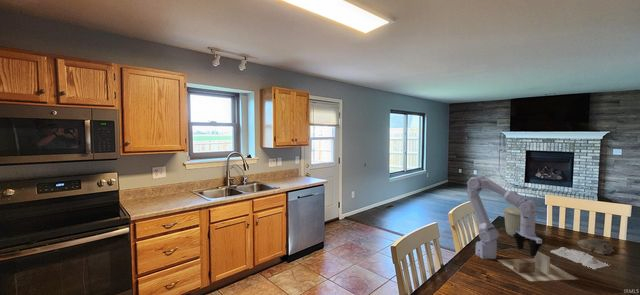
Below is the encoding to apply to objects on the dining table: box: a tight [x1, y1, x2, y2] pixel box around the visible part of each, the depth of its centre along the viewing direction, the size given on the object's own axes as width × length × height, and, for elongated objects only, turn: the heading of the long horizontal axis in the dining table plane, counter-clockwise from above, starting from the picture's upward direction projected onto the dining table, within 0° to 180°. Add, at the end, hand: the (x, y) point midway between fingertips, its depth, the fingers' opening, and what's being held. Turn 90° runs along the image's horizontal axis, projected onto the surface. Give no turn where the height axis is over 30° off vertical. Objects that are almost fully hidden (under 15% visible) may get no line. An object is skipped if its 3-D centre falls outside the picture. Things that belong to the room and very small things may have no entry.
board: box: [497, 258, 579, 282], centre depth 136 cm, size 24×21×1 cm
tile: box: [533, 250, 551, 274], centre depth 135 cm, size 2×7×8 cm, turn 3°
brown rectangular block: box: [512, 258, 535, 273], centre depth 134 cm, size 8×4×5 cm, turn 94°
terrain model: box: [550, 246, 610, 270], centre depth 150 cm, size 17×23×5 cm
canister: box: [502, 206, 538, 240], centre depth 181 cm, size 18×18×21 cm
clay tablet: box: [577, 237, 615, 256], centre depth 162 cm, size 14×5×20 cm
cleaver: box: [543, 230, 571, 240], centre depth 189 cm, size 29×1×10 cm
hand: (526, 252), depth 136 cm, fingers open, 7 cm apart
